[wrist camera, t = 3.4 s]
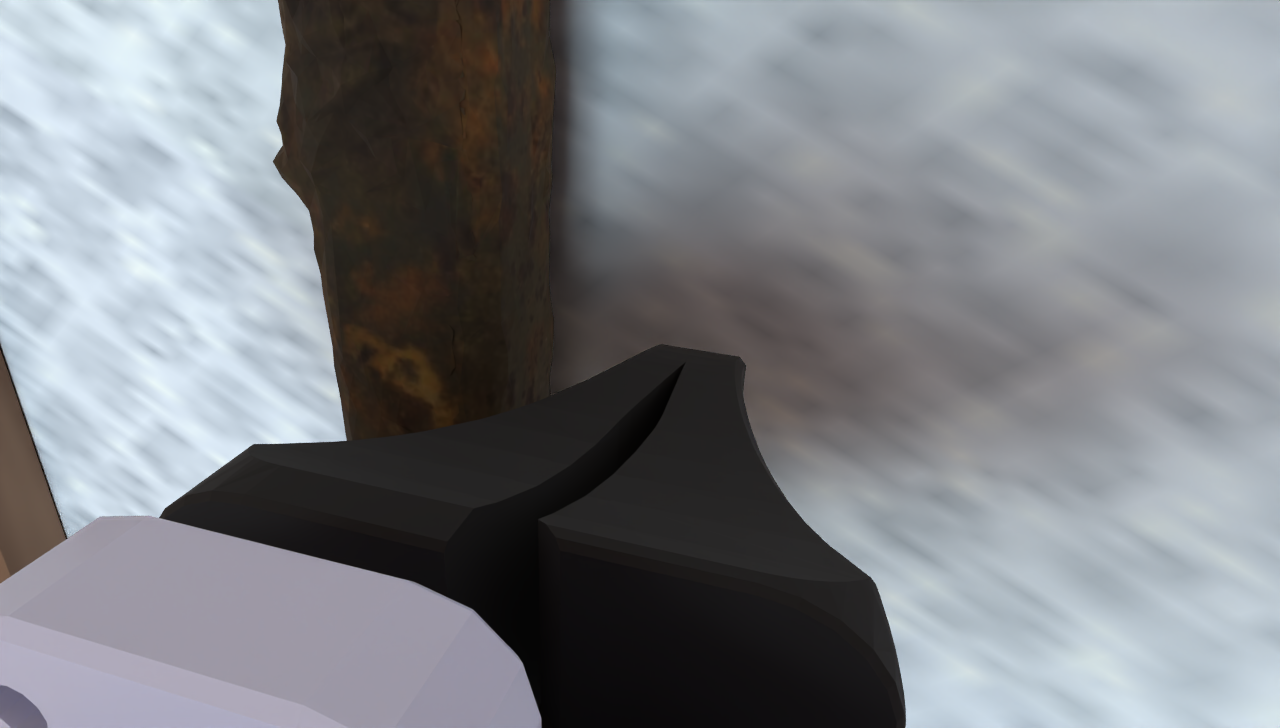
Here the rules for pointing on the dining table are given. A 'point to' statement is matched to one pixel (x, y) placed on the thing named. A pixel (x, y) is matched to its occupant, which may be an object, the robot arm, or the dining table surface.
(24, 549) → the tool bay
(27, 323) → the dining table surface
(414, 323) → the hand tool
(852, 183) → the dining table surface
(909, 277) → the dining table surface
